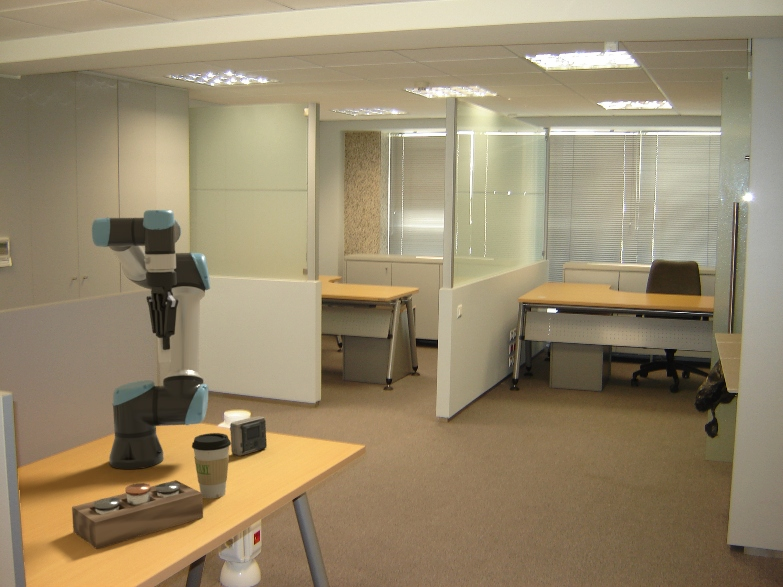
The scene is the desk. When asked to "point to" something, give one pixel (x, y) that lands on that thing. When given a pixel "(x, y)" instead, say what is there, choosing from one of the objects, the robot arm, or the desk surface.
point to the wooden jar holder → (136, 516)
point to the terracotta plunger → (138, 494)
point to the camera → (248, 435)
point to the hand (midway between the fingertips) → (164, 361)
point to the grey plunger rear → (167, 489)
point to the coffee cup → (212, 463)
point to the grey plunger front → (106, 505)
